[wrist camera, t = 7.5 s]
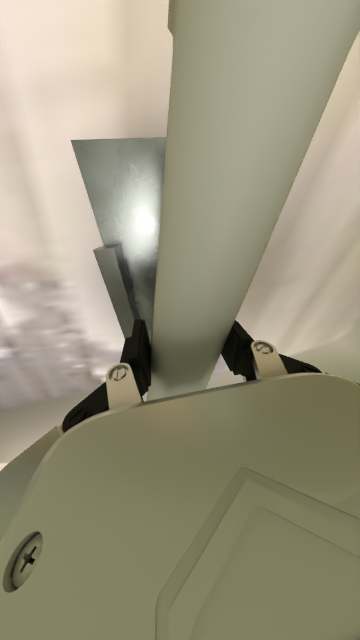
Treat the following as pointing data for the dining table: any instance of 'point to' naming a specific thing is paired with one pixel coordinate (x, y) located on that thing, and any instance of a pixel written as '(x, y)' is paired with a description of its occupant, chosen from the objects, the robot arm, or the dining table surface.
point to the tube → (233, 160)
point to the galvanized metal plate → (126, 219)
